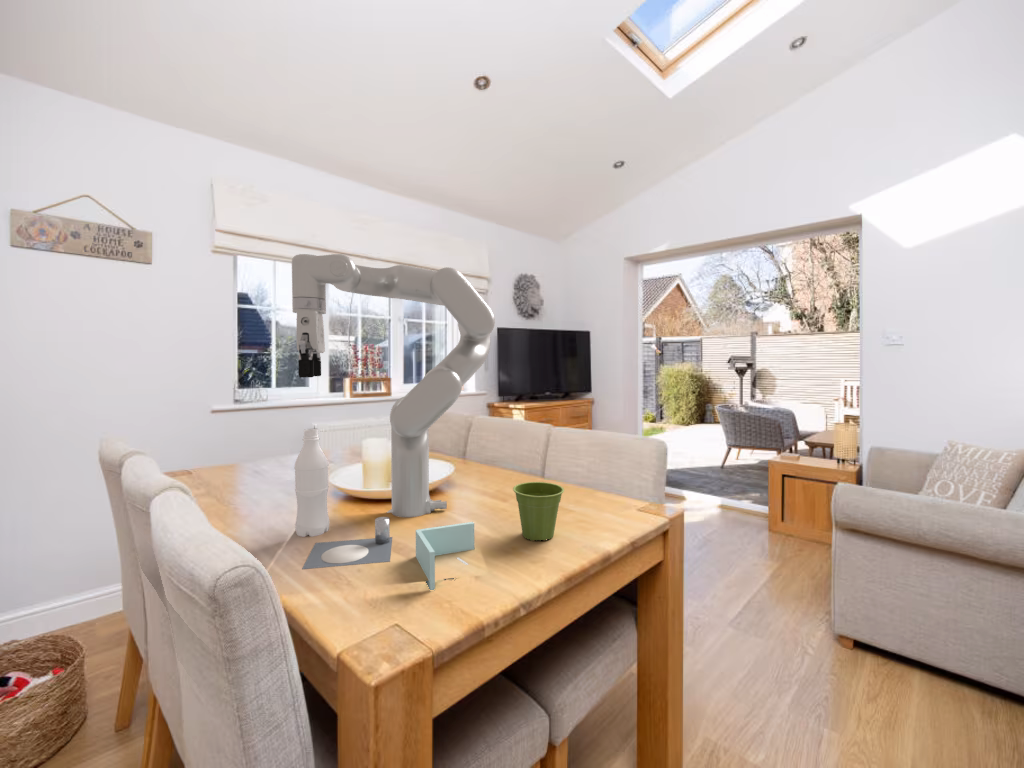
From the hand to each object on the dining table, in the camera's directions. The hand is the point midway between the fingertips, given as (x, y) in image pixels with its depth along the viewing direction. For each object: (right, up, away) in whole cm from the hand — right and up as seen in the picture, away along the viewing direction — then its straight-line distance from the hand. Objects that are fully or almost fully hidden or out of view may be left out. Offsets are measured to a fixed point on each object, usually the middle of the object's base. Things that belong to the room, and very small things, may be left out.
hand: (310, 376), depth 114 cm
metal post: (+22, -36, -14) cm, 44 cm away
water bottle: (+4, -37, -8) cm, 38 cm away
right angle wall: (+38, -39, -24) cm, 60 cm away
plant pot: (+56, -38, -6) cm, 68 cm away
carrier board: (+17, -38, -19) cm, 45 cm away
